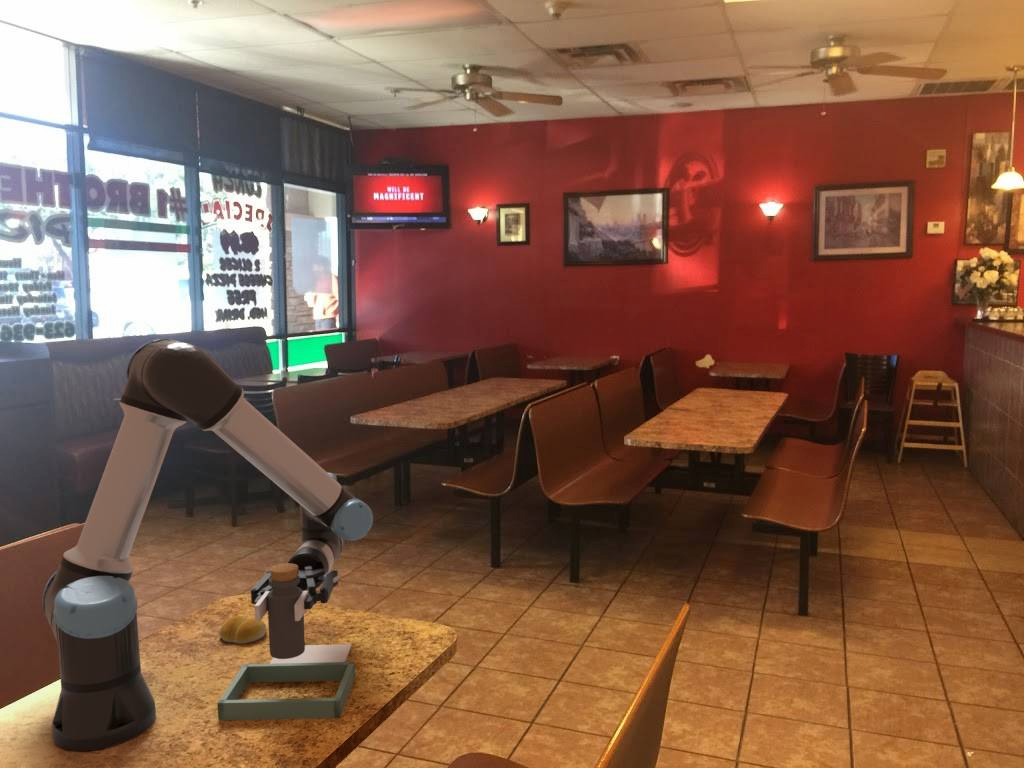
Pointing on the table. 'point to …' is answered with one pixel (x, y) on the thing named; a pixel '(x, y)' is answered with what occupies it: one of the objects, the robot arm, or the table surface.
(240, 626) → the bread roll
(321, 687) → the table surface
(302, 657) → the tile
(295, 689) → the table surface
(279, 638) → the bottle
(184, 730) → the table surface
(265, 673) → the green rectangular frame
